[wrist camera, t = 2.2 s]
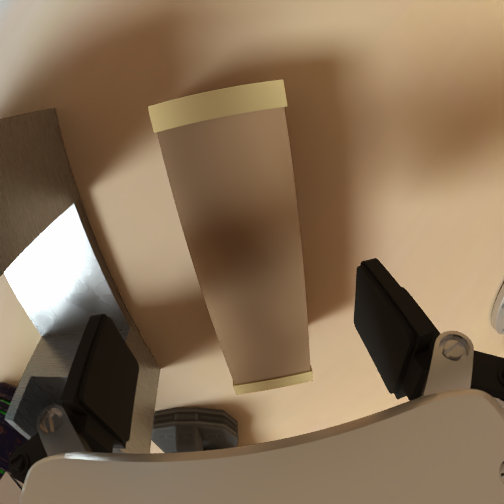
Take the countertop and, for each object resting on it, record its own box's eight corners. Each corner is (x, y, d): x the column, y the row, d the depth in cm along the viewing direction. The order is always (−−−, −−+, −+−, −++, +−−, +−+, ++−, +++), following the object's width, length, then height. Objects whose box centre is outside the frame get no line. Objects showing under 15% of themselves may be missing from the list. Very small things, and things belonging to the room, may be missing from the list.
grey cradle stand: (54, 108, 12) (-111, 162, 2) (160, 369, 22) (146, 497, 12) (-32, 160, 12) (-146, 234, 2) (77, 373, 22) (47, 479, 12)
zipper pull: (193, 513, 31) (134, 464, 19) (193, 479, 37) (142, 405, 25) (252, 511, 32) (238, 466, 20) (248, 477, 38) (233, 404, 25)
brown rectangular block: (264, 85, 13) (282, 79, 9) (297, 329, 21) (312, 380, 17) (170, 103, 13) (147, 106, 9) (233, 341, 21) (236, 394, 17)
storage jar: (-2, 403, 26) (-29, 485, 13) (-11, 370, 22) (-51, 469, 9) (57, 434, 29) (38, 521, 16) (57, 408, 25) (31, 517, 12)
